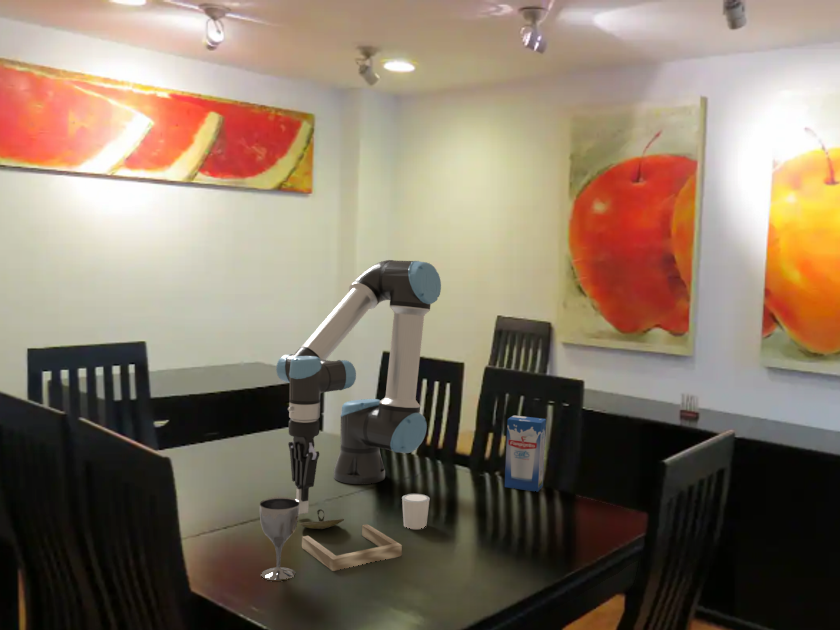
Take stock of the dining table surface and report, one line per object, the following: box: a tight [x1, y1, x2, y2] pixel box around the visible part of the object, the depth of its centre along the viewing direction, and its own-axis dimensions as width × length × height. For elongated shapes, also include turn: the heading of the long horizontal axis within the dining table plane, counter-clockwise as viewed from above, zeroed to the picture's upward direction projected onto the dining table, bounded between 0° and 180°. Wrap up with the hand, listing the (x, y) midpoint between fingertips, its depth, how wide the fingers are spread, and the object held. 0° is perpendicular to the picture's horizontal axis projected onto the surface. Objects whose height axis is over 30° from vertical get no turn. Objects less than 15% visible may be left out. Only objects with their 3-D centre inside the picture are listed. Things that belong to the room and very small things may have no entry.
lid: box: [299, 508, 345, 530], centre depth 188 cm, size 11×10×5 cm
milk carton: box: [504, 415, 547, 493], centre depth 228 cm, size 10×6×20 cm, turn 68°
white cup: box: [401, 493, 431, 530], centre depth 193 cm, size 7×7×7 cm
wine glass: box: [259, 496, 300, 581], centre depth 161 cm, size 8×8×15 cm
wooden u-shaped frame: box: [301, 523, 403, 572], centre depth 175 cm, size 17×15×2 cm
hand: (302, 512), depth 196 cm, fingers closed
